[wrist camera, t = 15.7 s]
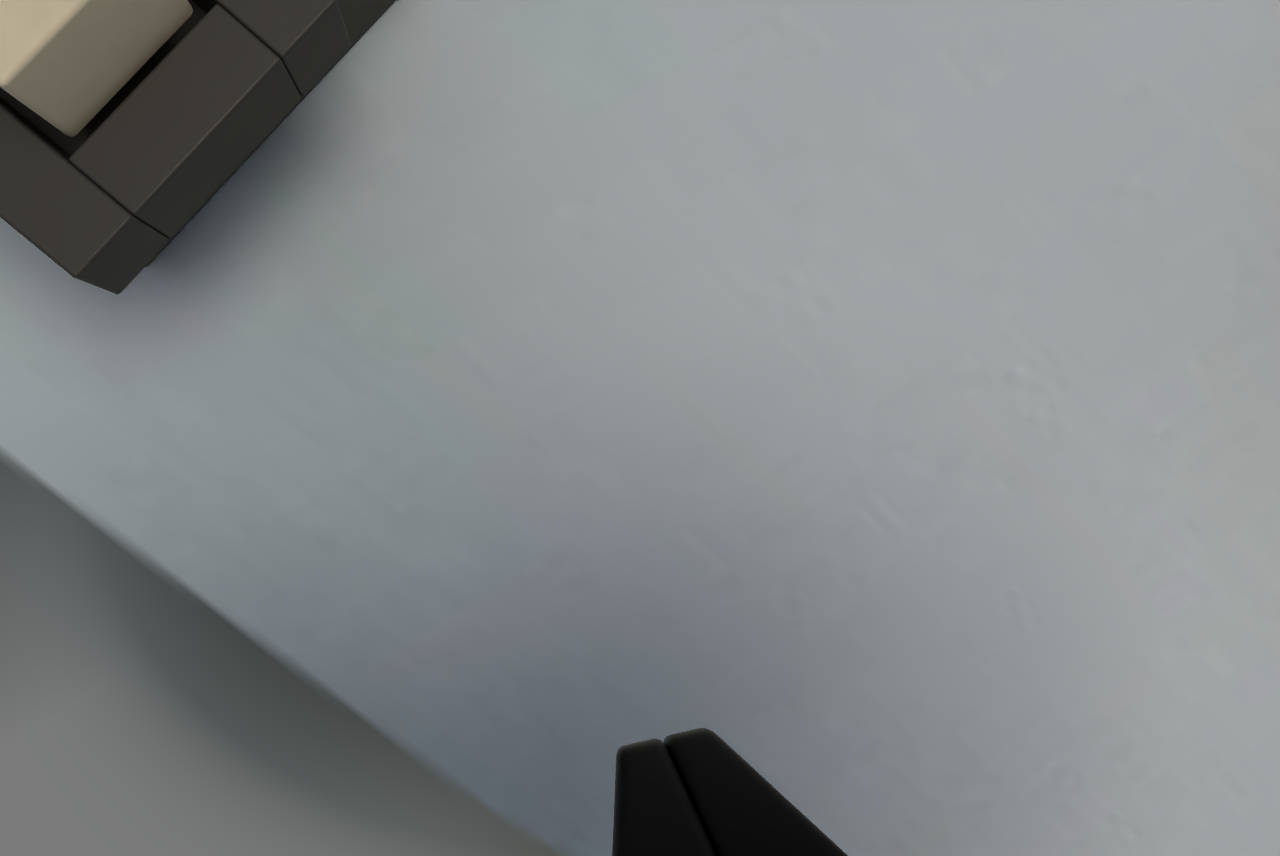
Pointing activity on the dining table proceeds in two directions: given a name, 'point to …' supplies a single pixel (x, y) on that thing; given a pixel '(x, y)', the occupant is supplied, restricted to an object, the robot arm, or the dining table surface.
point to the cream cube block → (79, 51)
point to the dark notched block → (168, 132)
